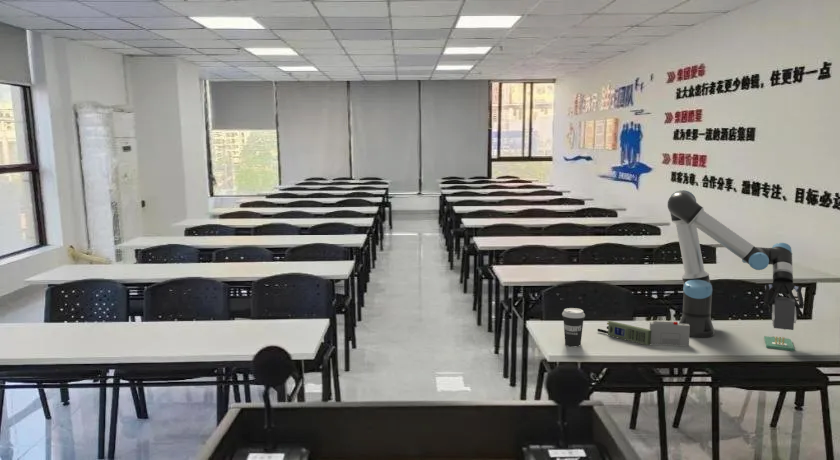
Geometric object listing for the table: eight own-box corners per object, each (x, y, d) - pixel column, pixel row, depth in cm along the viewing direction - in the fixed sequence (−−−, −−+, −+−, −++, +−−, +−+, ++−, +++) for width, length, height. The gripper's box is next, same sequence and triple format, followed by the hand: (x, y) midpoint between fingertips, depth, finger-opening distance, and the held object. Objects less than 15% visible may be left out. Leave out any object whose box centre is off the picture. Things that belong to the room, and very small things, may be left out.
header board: (766, 347, 251) (767, 338, 251) (764, 338, 264) (764, 329, 263) (794, 351, 247) (794, 341, 246) (790, 341, 259) (791, 332, 259)
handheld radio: (647, 346, 255) (595, 333, 274) (651, 344, 257) (599, 332, 276) (648, 330, 254) (596, 319, 273) (652, 329, 257) (600, 317, 275)
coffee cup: (556, 342, 260) (557, 309, 258) (574, 339, 264) (575, 306, 262) (570, 349, 252) (571, 314, 250) (588, 346, 255) (589, 311, 254)
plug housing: (773, 328, 250) (775, 300, 248) (772, 323, 256) (774, 296, 255) (793, 330, 247) (795, 301, 245) (791, 325, 253) (793, 297, 252)
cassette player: (687, 344, 257) (688, 321, 256) (688, 346, 254) (690, 323, 253) (649, 342, 260) (650, 320, 259) (650, 344, 257) (651, 321, 256)
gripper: (808, 281, 259) (811, 327, 246) (755, 277, 267) (756, 322, 255) (811, 271, 253) (813, 318, 241) (757, 268, 262) (757, 313, 250)
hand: (784, 320), depth 248 cm, fingers closed on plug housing, 7 cm apart
